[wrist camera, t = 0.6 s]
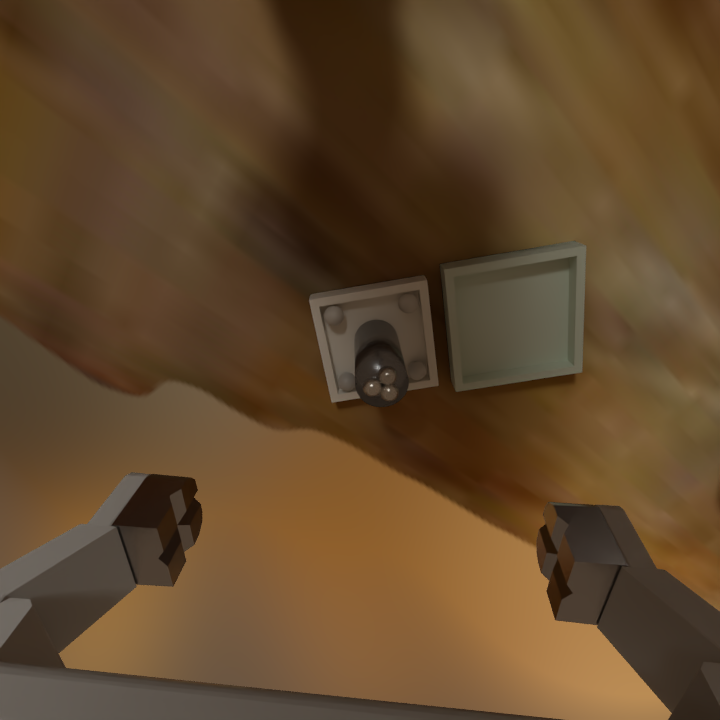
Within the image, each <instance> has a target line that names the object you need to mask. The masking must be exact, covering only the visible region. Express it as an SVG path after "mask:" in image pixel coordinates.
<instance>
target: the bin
mask: <svg viewBox="0 0 720 720" xmlns="http://www.w3.org/2000/svg"><path fill="white" fill-rule="evenodd" d="M585 266H586V245H583V244H581V243H578V242H576V241H571V242H566V243H560V244H554V245H548V246H542V247H536V248H530V249H525V250H519V251H513V252H507V253H501V254H495V255H489V256H484V257H478V258H472V259H466V260H460V261H454V262H448V263H443V264H440V273H441V283H442V293H443V303H444V313H445V324H446V334H447V344H448V354H449V364H450V374H451V382H452V384H453V387H454V389H455V391H456V392H459V391H465V390H472V389H478V388H485V387H491V386H497V385H504V384H510V383H517V382H523V381H529V380H536V379H542V378H549V377H555V376H561V375H568V374H574V373H581V372H582V361H583V329H584V298H585Z"/></svg>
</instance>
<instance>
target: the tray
mask: <svg viewBox="0 0 720 720" xmlns="http://www.w3.org/2000/svg"><path fill="white" fill-rule="evenodd" d="M309 303H310V307H311V312H312V316H313V321H314V325H315V330H316V334H317V339H318V343H319V348H320V352H321V357H322V361H323V366H324V370H325V375H326V379H327V384H328V388H329V393H330V397H331V402H339V401H345V400H352V399H358V398H360V397H359V395H358V394H357V391H356V388H355V352H354V338H355V334H356V331H357V330H358V328H359V327H360V326H361V325H362V324H364V323H365V322H367V321H370V320H383V321H386V322H388V323H389V324H391V325H392V326H393V327H394V329H395V330H396V332H397V336H398V339H399V343H400V347H401V351H402V355H403V359H404V363H405V367H406V371H407V375H408V379H409V386H408V389H407V391H409V390H415V389H422V388H428V387H434V386H439V383H438V374H437V365H436V356H435V347H434V338H433V329H432V320H431V311H430V302H429V293H428V284H427V279H426V277H425V276H424V275H421V276H415V277H409V278H403V279H397V280H391V281H385V282H380V283H374V284H368V285H362V286H356V287H350V288H344V289H338V290H332V291H327V292H321V293H315V294H311V295H310V298H309Z"/></svg>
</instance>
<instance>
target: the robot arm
mask: <svg viewBox="0 0 720 720" xmlns="http://www.w3.org/2000/svg"><path fill="white" fill-rule="evenodd" d="M197 491H198V489H197V485H196V481H195V479H193V478H189V477H179V476H168V475H158V474H143V473H133V472H132V473H130V474H128V475H126V476H125V477H124V478H123V479H122V481H121V482H120V483H119V485H118V486H117V487H116V488H115V490H114V491H113V492H112V493H111V495H110V496H109V497H108V498H107V500H106V501H105V502H104V503H103V505H102V506H101V507H100V508H99V510H98V511H97V512H96V514H95V515H94V516H93V517H92V519H91V520H90V521H89V522H88V524H80V525H78V526H76V527H74V528H72V529H71V530H69V531H67V532H66V533H64V534H62V535H60V536H58V537H56V538H55V539H53V540H51V541H49V542H48V543H46V544H44V545H42V546H41V547H39V548H37V549H35V550H33V551H31V552H30V553H28V554H26V555H24V556H23V557H21V558H19V559H17V560H15V561H14V562H12V563H10V564H8V565H7V566H5V567H3V568H1V569H0V720H561V719H552V718H542V717H532V716H523V715H513V714H503V713H494V712H484V711H474V710H465V709H456V708H446V707H436V706H427V705H426V706H425V705H417V704H407V703H398V702H387V701H378V700H369V699H358V698H349V697H339V696H330V695H320V694H310V693H300V692H291V691H281V690H272V689H262V688H252V687H242V686H232V685H223V684H214V683H203V682H195V681H194V682H193V681H184V680H175V679H166V678H155V677H147V676H137V675H127V674H118V673H107V672H98V671H89V670H79V669H69V668H66V667H65V665H64V664H63V661H62V660H61V658H60V656H59V654H58V653H60V652H61V651H62V650H63V649H64V648H65V647H66V646H68V645H69V644H70V643H71V642H72V641H74V640H75V639H76V638H77V637H78V636H79V635H80V634H82V633H83V632H84V631H85V630H86V629H87V628H89V627H90V626H91V625H92V624H93V623H95V622H96V621H97V620H98V619H99V618H100V617H102V616H103V615H104V614H105V613H106V612H107V611H109V610H110V609H111V608H112V607H113V606H114V605H116V604H117V603H118V602H119V601H120V600H121V599H123V598H124V597H125V596H126V595H127V594H128V593H130V592H131V591H132V590H133V589H134V588H135V587H136V584H139V585H155V586H172V587H173V586H174V584H175V582H176V580H177V578H178V576H179V574H180V572H181V570H182V568H183V566H184V564H185V562H186V558H185V554H184V552H185V551H186V550H188V549H189V548H190V547H192V546H193V545H194V544H195V542H196V540H197V538H198V536H199V532H200V529H201V524H202V508H201V504H200V503H199V502H198V501H197V500H196V499H195V498H194V496H195V494H196V492H197ZM543 516H544V519H545V522H546V524H545V525H544V526H543V527H541V528H540V529H539V532H538V537H537V557H538V563H539V567H540V570H541V573H542V574H543V575H544V576H545V577H546V578H547V579H548V580H549V584H548V588H547V594H548V598H549V601H550V604H551V607H552V611H553V614H554V617H555V620H558V621H566V622H576V623H584V624H593V625H598V626H597V628H598V629H599V630H600V631H601V632H602V633H603V634H604V636H605V637H606V638H607V639H608V640H609V641H610V643H611V644H612V645H613V646H614V647H615V648H616V649H617V651H618V652H619V653H620V654H621V655H622V656H623V658H624V659H625V660H626V661H627V662H628V663H629V664H630V665H631V667H632V668H633V669H634V670H635V671H636V672H637V673H638V675H639V676H640V677H641V678H642V679H643V680H644V682H645V683H646V684H647V685H648V686H649V687H650V689H651V690H652V691H653V692H654V693H655V694H656V695H657V697H658V698H659V699H660V700H661V701H662V702H663V703H664V705H665V706H666V707H667V708H668V709H669V710H670V712H671V713H672V714H671V716H670V718H669V719H668V720H720V612H719V611H718V610H717V609H715V608H714V607H713V606H711V605H710V604H709V603H708V602H706V601H705V600H704V599H702V598H701V597H700V596H698V595H697V594H696V593H694V592H693V591H692V590H690V589H689V588H688V587H686V586H685V585H684V584H683V583H681V582H680V581H679V580H677V579H676V578H675V577H673V576H672V575H671V574H669V573H668V572H667V571H665V570H661V569H657V568H656V566H655V565H654V563H653V561H652V559H651V557H650V556H649V554H648V552H647V550H646V549H645V547H644V545H643V543H642V541H641V540H640V538H639V536H638V534H637V533H636V531H635V529H634V527H633V525H632V524H631V522H630V520H629V518H628V517H627V515H626V513H625V511H624V510H623V509H622V508H621V507H620V506H609V505H589V504H572V503H556V502H548V503H547V505H546V506H545V510H544V513H543Z"/></svg>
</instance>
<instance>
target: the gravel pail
mask: <svg viewBox="0 0 720 720" xmlns="http://www.w3.org/2000/svg"><path fill="white" fill-rule="evenodd" d="M354 352H355V388H356V391H357V394H358V395H359V397H360V398H361V399H362V400H363V401H364V402H366V403H368V404H370V405H372V406H376V407H386V406H390V405H393V404H395V403H397V402H398V401H400V400H401V399H402V398H403V397H404V395H405V394H406V392H407V389H408V386H409V379H408V375H407V371H406V367H405V363H404V359H403V355H402V351H401V347H400V343H399V339H398V336H397V332H396V330H395V329H394V327H393V326H392V325H391V324H389V323H388V322H386V321H383V320H370V321H367V322H365V323H364V324H362V325H361V326H360V327H359V328H358V330H357V331H356V334H355V338H354Z"/></svg>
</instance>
